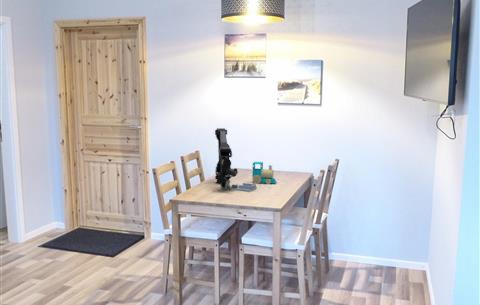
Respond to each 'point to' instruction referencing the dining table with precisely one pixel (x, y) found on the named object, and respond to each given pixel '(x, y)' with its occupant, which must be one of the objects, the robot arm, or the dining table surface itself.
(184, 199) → the dining table surface
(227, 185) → the grey block with tab
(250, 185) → the chassis
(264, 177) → the toy train
